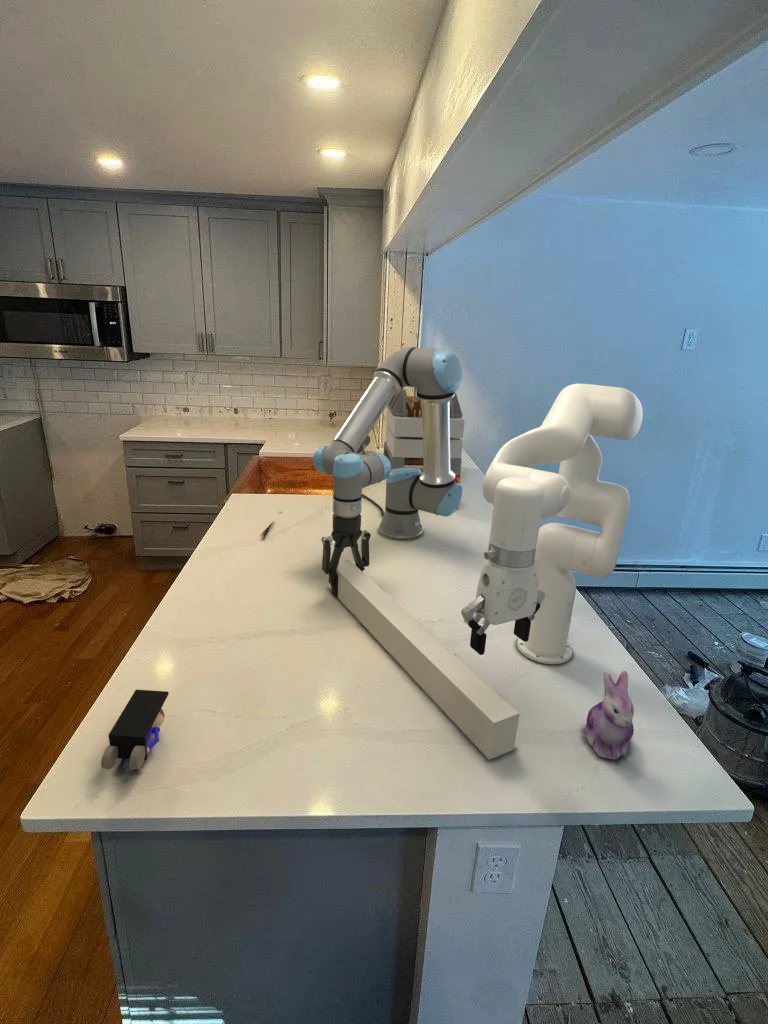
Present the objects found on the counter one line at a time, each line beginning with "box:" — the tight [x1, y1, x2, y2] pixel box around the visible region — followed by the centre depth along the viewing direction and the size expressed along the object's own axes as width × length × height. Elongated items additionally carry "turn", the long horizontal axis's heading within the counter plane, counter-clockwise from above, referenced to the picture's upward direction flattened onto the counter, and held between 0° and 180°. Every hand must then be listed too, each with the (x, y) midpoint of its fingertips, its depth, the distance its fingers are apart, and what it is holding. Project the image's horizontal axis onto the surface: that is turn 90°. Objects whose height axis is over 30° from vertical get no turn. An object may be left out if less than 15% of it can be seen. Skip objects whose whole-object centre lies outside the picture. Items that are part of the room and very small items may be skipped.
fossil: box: [356, 434, 371, 455], centre depth 304 cm, size 22×10×15 cm
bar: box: [329, 559, 520, 761], centre depth 130 cm, size 71×6×8 cm, turn 29°
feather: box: [260, 520, 275, 540], centre depth 202 cm, size 2×28×2 cm
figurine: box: [584, 670, 635, 760], centre depth 103 cm, size 9×10×15 cm
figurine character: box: [100, 689, 169, 774], centre depth 98 cm, size 7×8×15 cm
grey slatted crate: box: [383, 388, 465, 476], centre depth 268 cm, size 34×33×41 cm
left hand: (345, 592), depth 157 cm, fingers closed on bar, 6 cm apart
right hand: (499, 644), depth 98 cm, fingers open, 9 cm apart
